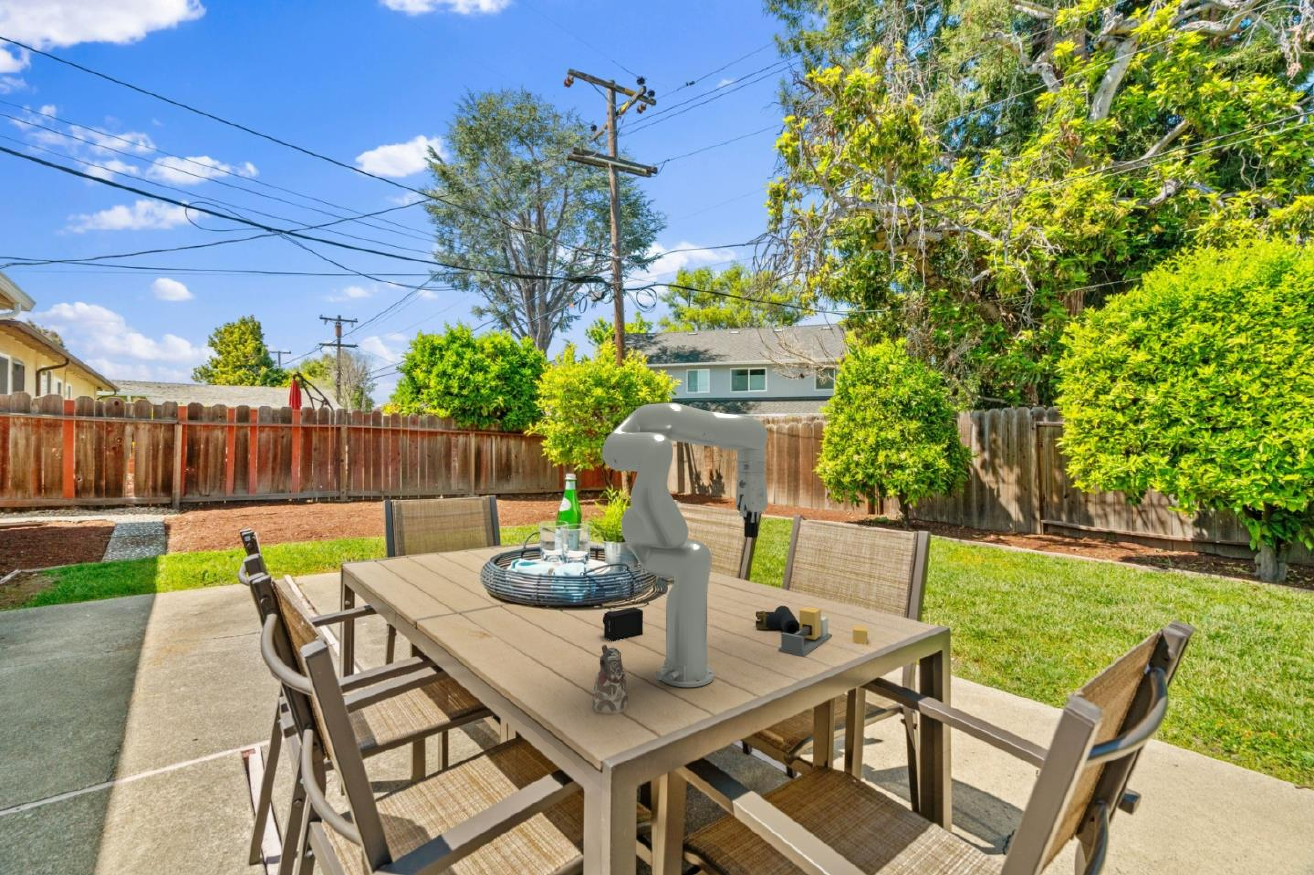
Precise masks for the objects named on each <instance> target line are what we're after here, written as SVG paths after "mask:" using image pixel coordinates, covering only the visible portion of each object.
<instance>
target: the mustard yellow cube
mask: <svg viewBox="0 0 1314 875" xmlns="http://www.w3.org/2000/svg"><path fill="white" fill-rule="evenodd" d="M853 642H854V643H853ZM852 643H853V644H859V643H867V644H868V628H867V626H865V625H852Z"/></svg>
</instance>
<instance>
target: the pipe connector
mask: <svg viewBox="0 0 1314 875" xmlns="http://www.w3.org/2000/svg"><path fill="white" fill-rule="evenodd" d="M755 617H756V620H755V626H756V629H757V630H764V631H765V630H771V629H772V630H774V631H775V630H777V631H778V630H779V631H782V632H784V633H789V634H794V633H796V632H797V631H799V630H800V624H799V621H798V619H797V618H796V617H795V615H794V613H793V612H792V611H791V609H790V608H789V607H788V606H786V605H779V606H778V607H776V608H775V611H765V610H760V611H758V610H757V611H755Z"/></svg>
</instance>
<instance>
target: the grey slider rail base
mask: <svg viewBox="0 0 1314 875" xmlns="http://www.w3.org/2000/svg"><path fill="white" fill-rule="evenodd" d="M811 632H812V626H811V625H807V626H805V627H804V628H802V629H800V630H799V631H797V632H796V633H794V634H789V633H784V631H782V632H781V635H780V636H781V640H780V641H781V645H780V647H778V652H782V653H786V654H790V655H794V656H799V657H803V658H804V657H806V656H807V655H809V654H810V653H811V652H813V651H814V650H816V649H817V648H818V647H820V646H821V645H823V644H824V643H825V642H826V641H828V640H830V639H831V638H832V637H833V634H832V633H829V618H828V617H827V616H822V615H821V636H820V637H818V638H817V639H815V640H814V639H809V638H805V637H804V636H806V635H807V634H809V633H811ZM830 637H831V638H830ZM816 647H817V648H816ZM815 648H816V649H815Z"/></svg>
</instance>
